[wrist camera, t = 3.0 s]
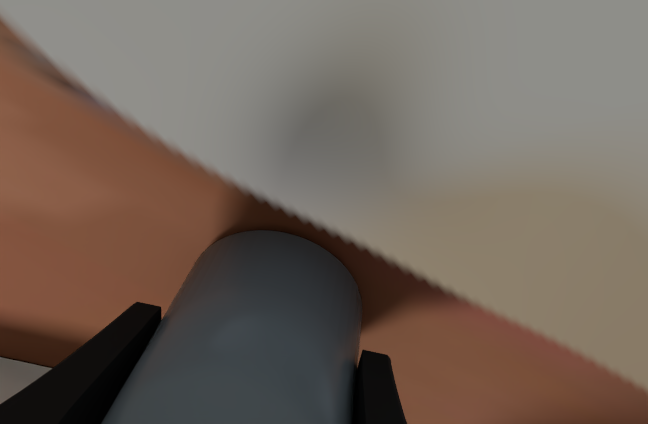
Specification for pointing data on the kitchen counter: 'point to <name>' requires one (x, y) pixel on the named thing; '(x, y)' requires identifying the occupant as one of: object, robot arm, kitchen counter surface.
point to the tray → (17, 376)
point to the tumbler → (252, 340)
